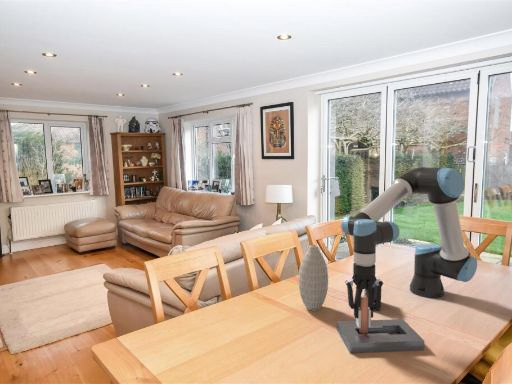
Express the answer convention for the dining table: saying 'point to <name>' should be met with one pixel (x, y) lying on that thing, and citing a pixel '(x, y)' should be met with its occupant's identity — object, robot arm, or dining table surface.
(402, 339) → the grey slotted plate
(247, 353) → the dining table surface
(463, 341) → the dining table surface
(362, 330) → the stud
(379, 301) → the small box
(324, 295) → the vase
